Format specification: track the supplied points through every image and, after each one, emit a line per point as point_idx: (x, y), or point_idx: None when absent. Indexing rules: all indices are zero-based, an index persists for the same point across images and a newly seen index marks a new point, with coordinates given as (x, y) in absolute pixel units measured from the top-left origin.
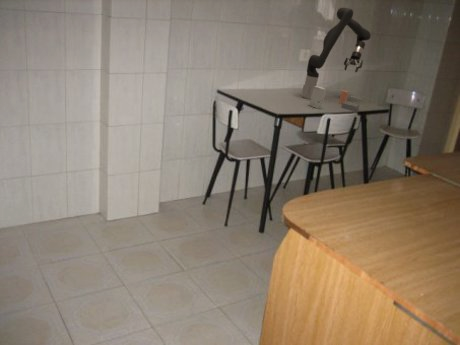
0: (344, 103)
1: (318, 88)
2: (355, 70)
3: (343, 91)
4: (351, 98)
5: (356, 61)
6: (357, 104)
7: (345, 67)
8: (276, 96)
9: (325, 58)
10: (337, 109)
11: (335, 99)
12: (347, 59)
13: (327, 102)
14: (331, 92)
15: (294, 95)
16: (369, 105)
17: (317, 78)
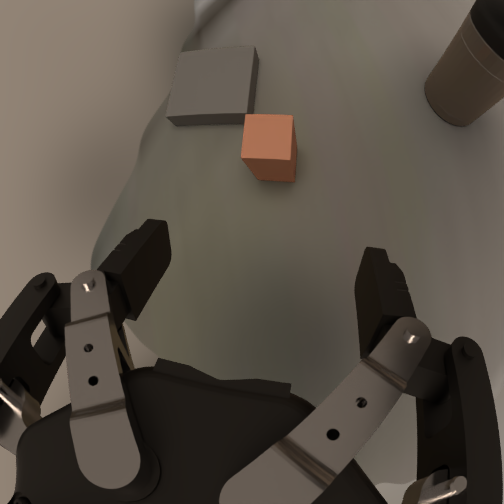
0: (243, 47)
1: None
2: (155, 223)
3: (278, 115)
4: None
5: (78, 405)
6: (177, 108)
7: (389, 268)
8: None
9: None
10: (264, 14)
11: (338, 240)
12: (456, 487)
13: (348, 91)
14: (384, 428)
15: None
16: (141, 314)
17: (468, 22)
